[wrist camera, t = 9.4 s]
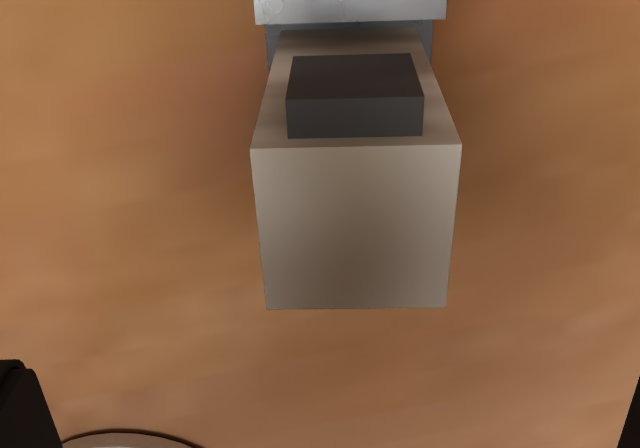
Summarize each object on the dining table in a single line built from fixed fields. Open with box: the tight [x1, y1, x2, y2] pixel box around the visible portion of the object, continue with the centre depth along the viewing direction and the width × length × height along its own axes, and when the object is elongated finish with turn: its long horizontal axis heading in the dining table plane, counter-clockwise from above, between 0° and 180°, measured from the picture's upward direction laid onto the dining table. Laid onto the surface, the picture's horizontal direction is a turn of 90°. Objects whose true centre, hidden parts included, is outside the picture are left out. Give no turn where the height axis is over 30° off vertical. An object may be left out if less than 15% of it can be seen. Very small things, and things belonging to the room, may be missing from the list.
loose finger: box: [250, 27, 462, 310], centre depth 16 cm, size 4×5×8 cm
